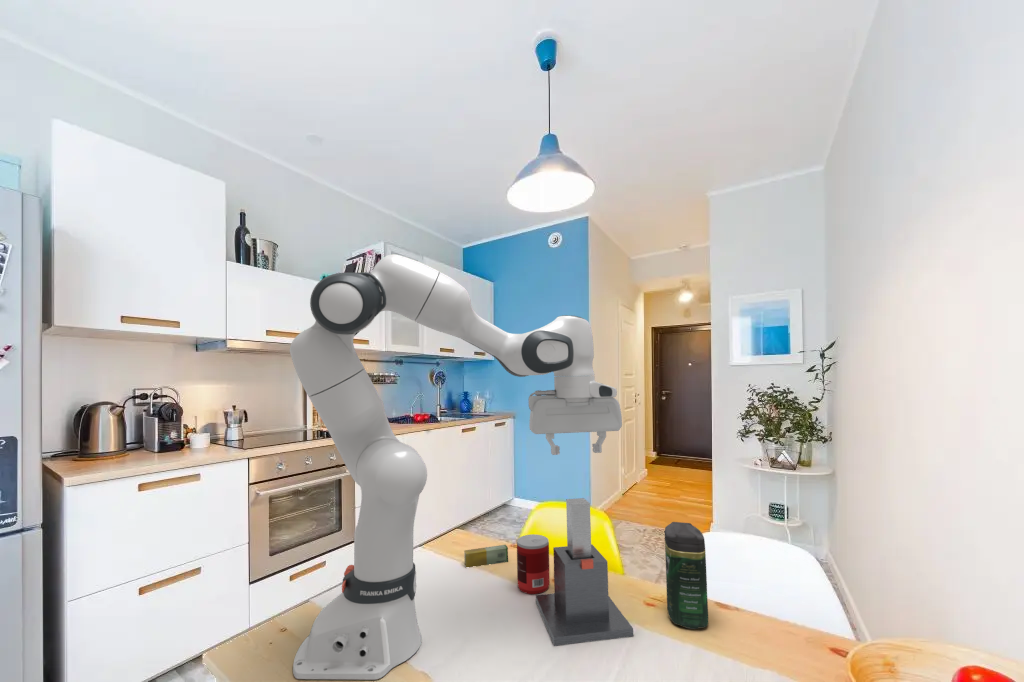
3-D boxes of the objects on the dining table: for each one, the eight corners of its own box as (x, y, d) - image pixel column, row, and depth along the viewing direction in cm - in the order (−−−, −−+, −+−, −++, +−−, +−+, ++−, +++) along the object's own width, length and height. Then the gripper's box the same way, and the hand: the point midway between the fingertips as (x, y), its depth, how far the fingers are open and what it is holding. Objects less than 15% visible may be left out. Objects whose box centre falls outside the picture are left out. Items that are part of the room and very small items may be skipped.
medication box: (506, 558, 120) (506, 543, 121) (508, 562, 118) (508, 547, 118) (464, 564, 117) (463, 549, 117) (465, 568, 114) (465, 553, 115)
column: (574, 614, 88) (571, 504, 90) (567, 603, 92) (565, 498, 94) (594, 612, 88) (590, 503, 90) (587, 601, 93) (584, 497, 94)
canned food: (555, 583, 105) (554, 537, 106) (539, 598, 98) (538, 548, 99) (528, 576, 109) (527, 532, 110) (511, 589, 102) (510, 542, 103)
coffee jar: (713, 633, 84) (708, 536, 85) (670, 628, 86) (666, 533, 87) (703, 607, 93) (699, 520, 95) (665, 603, 95) (661, 517, 97)
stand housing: (553, 645, 81) (552, 570, 82) (535, 602, 97) (534, 539, 98) (633, 636, 83) (630, 563, 85) (603, 595, 99) (601, 533, 100)
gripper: (531, 391, 89) (532, 458, 88) (623, 388, 92) (626, 453, 91) (525, 390, 95) (526, 453, 94) (612, 388, 99) (614, 448, 98)
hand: (576, 453), depth 93 cm, fingers open, 8 cm apart
